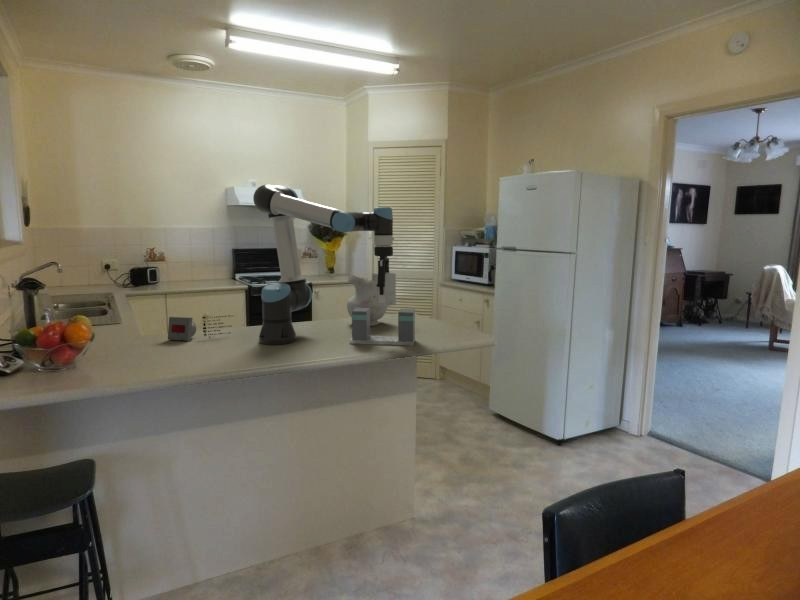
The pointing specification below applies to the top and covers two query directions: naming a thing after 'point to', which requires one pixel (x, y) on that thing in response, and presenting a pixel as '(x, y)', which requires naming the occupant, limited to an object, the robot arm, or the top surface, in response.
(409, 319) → the block
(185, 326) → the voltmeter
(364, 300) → the ceramic pitcher
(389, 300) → the small box
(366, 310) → the block
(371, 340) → the rail plate
